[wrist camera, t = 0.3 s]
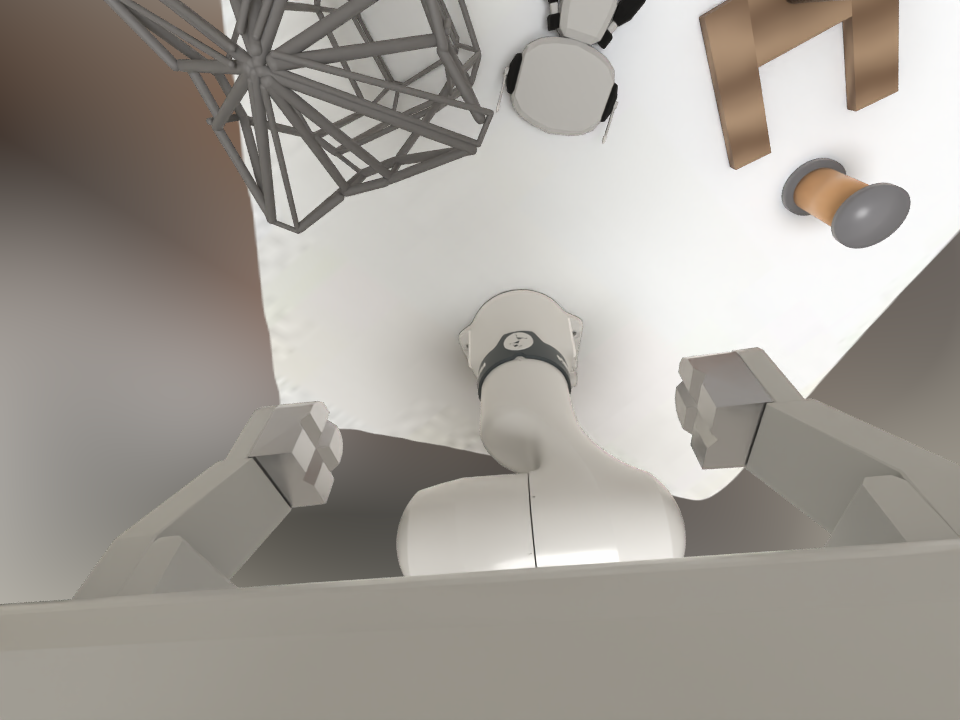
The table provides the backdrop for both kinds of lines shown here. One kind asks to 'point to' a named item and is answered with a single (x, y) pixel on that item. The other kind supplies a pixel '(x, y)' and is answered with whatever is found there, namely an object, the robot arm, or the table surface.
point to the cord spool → (846, 203)
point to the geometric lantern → (317, 90)
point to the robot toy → (569, 68)
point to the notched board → (777, 29)
